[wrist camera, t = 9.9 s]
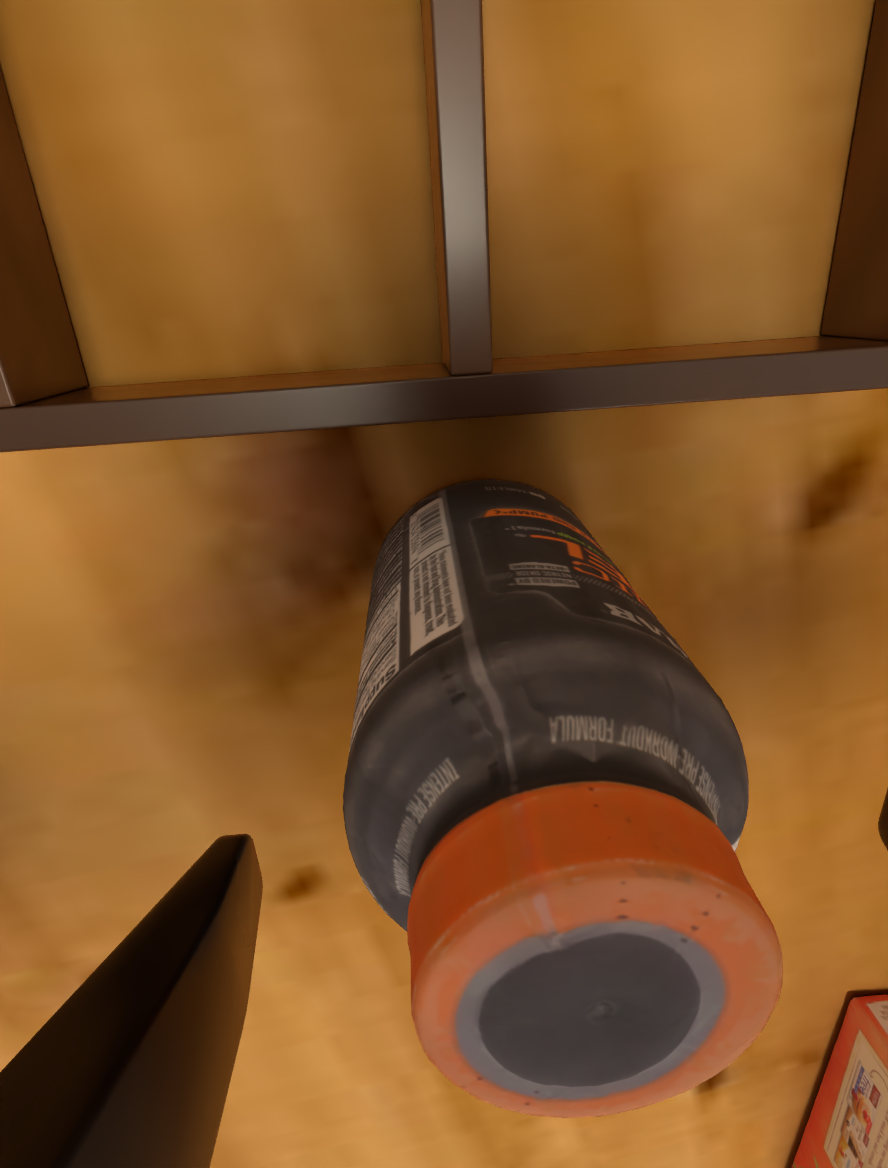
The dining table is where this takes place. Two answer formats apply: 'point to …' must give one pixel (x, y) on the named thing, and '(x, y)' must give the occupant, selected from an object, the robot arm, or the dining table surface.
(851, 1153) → the cracker box
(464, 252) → the rack
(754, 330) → the dining table surface
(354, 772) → the pill bottle
